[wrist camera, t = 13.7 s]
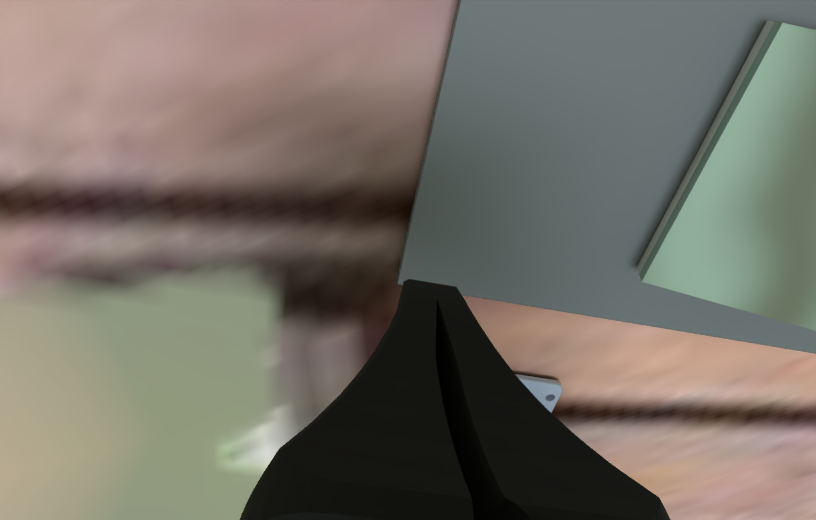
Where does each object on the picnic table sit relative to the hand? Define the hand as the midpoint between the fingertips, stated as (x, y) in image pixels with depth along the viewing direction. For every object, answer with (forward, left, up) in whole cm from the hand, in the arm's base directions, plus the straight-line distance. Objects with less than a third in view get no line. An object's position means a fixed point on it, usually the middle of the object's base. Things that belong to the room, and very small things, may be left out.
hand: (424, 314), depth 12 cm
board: (+3, -11, -9) cm, 15 cm away
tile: (+3, -14, -6) cm, 16 cm away
